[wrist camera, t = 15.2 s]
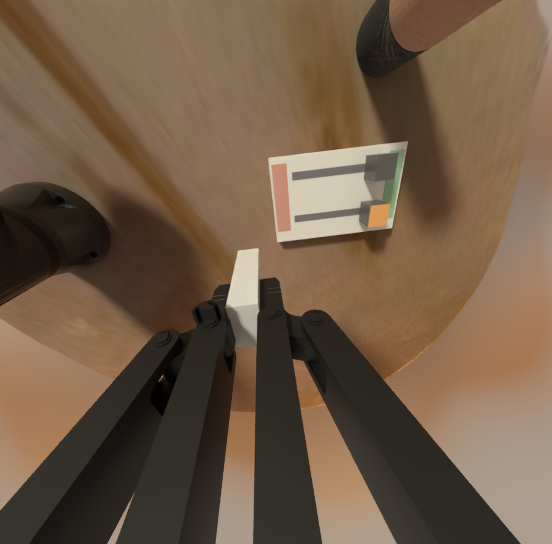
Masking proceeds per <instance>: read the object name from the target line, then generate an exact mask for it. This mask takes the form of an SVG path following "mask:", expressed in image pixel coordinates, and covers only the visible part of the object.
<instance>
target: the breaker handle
mask: <svg viewBox="0 0 552 544" xmlns="http://www.w3.org/2000/svg"><path fill="white" fill-rule="evenodd" d="M389 208H390V204H389V203H386V202H384V201H381V200H370V201H361V204H360V214H359V222H361V223H362V224H364V225H365V226H367V227H368V228H371V227H379V226H387V220H388V214H389Z"/></svg>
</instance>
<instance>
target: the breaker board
mask: <svg viewBox="0 0 552 544" xmlns="http://www.w3.org/2000/svg"><path fill="white" fill-rule="evenodd" d="M407 145H408V141H405V142H397V143H389V144H380V145H372V146H364V147H356V148H347V149H339V150H331V151H322V152H314V153H306V154H298V155H289V156H281V157H273V158H268V162H269V171H270V180H271V189H272V199H273V208H274V217H275V227H276V236H277V242H284V241H292V240H300V239H308V238H316V237H324V236H332V235H340V234H348V233H356V232H364V231H373V230H381V229H389V228H392V225H393V220H394V215H395V209H396V204H397V199H398V193H399V188H400V182H401V177H402V172H403V166H404V161H405V156H406V150H407ZM370 200H381V201H384V202H386V203H389V204H390V208H389V214H388V220H387V226H379V227H371V228H368V227H367V226H365V225H364V224H362V223H361V222H359V214H360V204H361V201H370Z"/></svg>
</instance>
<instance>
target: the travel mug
mask: <svg viewBox="0 0 552 544" xmlns="http://www.w3.org/2000/svg"><path fill="white" fill-rule="evenodd" d="M500 1H501V0H376V1H375V3H374V4H373V6H372V7H371V9H370V10H369V12H368V13H367V15H366V17H365V18H364V20H363V22H362V24H361V27H360V29H359V33H358V37H357V43H356V53H357V59H358V62H359V64H360V66H361V68H362V69H363V71H364V72H366V73H367V74H369V75H371V76H382V75H385V74H387V73H389V72H391V71H392V70H394V69H396V68H397V67H399V66H401V65H402V64H404V63H406V62H407V61H409V60H411V59H413V58H414V57H416V56H418V55H419V54H421V53H423V52H424V51H426V50H428V49H429V48H431V47H432V46H434V45H436V44H437V43H439V42H440V41H442V40H443V39H445V38H446V37H448V36H449V35H450V34H452V33H453V32H455V31H456V30H458V29H459V28H461V27H462V26H464V25H465V24H467V23H468V22H470V21H471V20H473V19H474V18H476V17H477V16H479V15H480V14H482V13H483V12H485V11H486V10H488V9H489V8H491V7H492V6H494V5H495V4H497V3H498V2H500Z"/></svg>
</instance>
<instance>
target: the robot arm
mask: <svg viewBox="0 0 552 544" xmlns="http://www.w3.org/2000/svg"><path fill="white" fill-rule="evenodd" d="M109 246H110V237H109V233H108V229H107V227H106V225H105V223H104V221H103V219H102V218H101V216H100V215H99V214H98V212H97V211H96V210H95V209H94V208H93V207H92V206H91V205H90V204H89V203H88V202H87V201H85V200H84V199H83V198H81V197H80V196H78V195H77V194H75V193H74V192H72V191H70V190H68V189H66V188H63V187H61V186H58V185H55V184H51V183H45V182H33V183H23V184H17V185H14V186H11V187H8V188H6V189H4V190H3V191H1V192H0V306H1V305H3V304H5V303H6V302H8V301H10V300H11V299H13V298H15V297H17V296H18V295H20V294H22V293H23V292H25V291H27V290H29V289H30V288H32V287H34V286H35V285H37V284H39V283H41V282H42V281H44V280H46V279H47V278H49V277H51V276H53V275H58V274H63V273H67V272H72V271H77V270H81V269H85V268H88V267H90V266H92V265H94V264H95V263H97V262H98V261H100V260H101V259H103V258H104V257H105V255H106V254H107V252H108V250H109ZM192 313H193V316H194V318H195V321H196V323H197V326H196V328H195V329H193V330H191V331H188V332H185V333H183V334H180V335H179V333H178V332H177V330H174V329H168V330H164V331H161V332H159V333H158V334H156V335H155V336H153V337H152V338H151V339H150V340H149V341H148V343H147V344H146V345H145V346H144V347H143V348H142V349H141V351H140V352H139V353H138V354H137V355H136V356H135V357H134V359H133V360H132V361H131V362H130V363H129V364H128V365H127V367H126V368H125V369H124V370H123V371H122V372H121V373H120V375H119V376H118V377H117V378H116V379H115V380H114V381H113V383H112V384H111V385H110V386H109V387H108V388H107V389H106V391H105V392H104V393H103V394H102V395H101V396H100V397H99V399H98V400H97V401H96V402H95V403H94V404H93V405H92V407H91V408H90V409H89V410H88V411H87V412H86V413H85V415H84V416H83V417H82V418H81V419H80V420H79V421H78V423H77V424H76V425H75V426H74V427H73V428H72V429H71V431H70V432H69V433H68V434H67V435H66V436H65V437H64V439H63V440H62V441H61V442H60V443H59V444H58V446H57V447H56V448H55V449H54V450H53V451H52V452H51V453H50V454H49V456H48V457H47V458H46V459H45V460H44V461H43V463H42V464H41V465H40V466H39V467H38V468H37V470H36V471H35V472H34V473H33V474H32V475H31V476H30V477H29V478H28V480H27V481H26V482H25V483H24V484H23V485H22V487H21V488H20V489H19V490H18V491H17V492H16V493H15V495H14V496H13V497H12V498H11V499H10V500H9V501H8V503H7V504H6V505H5V506H4V507H3V508H2V509H1V510H0V544H107V543H108V541H109V539H110V537H111V535H112V533H113V532H114V530H115V528H116V526H117V524H118V522H119V520H120V518H121V517H122V515H123V513H124V511H125V509H126V507H127V505H128V503H129V501H130V499H131V498H132V496H133V494H134V496H133V498H132V501H131V504H130V507H129V509H128V512H127V515H126V518H125V520H124V523H123V525H122V528H121V531H120V534H119V536H118V539H117V542H116V544H215V542H216V533H217V524H218V515H219V506H220V497H221V488H222V479H223V471H224V462H225V452H226V444H227V435H228V426H229V417H230V409H231V400H232V391H233V382H234V373H235V364H236V352H235V349H234V348H235V342H236V345H237V348H242V347H249V346H257V357H256V416H255V417H256V419H255V473H254V474H255V475H254V530H253V531H254V532H253V544H322V540H321V534H320V527H319V522H318V515H317V509H316V502H315V496H314V490H313V484H312V478H311V472H310V465H309V459H308V453H307V447H306V440H305V434H304V428H303V422H302V416H301V409H300V403H299V397H298V391H297V385H296V378H295V372H294V366H293V360H292V359H296V360H302V361H304V363H305V365H306V367H307V369H308V371H309V373H310V375H311V377H312V378H313V380H314V382H315V384H316V386H317V388H318V390H319V392H320V394H321V396H322V398H323V400H324V402H325V404H326V406H327V408H328V410H329V412H330V414H331V416H332V418H333V419H334V422H335V424H336V425H337V427H338V429H339V431H340V433H341V435H342V437H343V439H344V441H345V443H346V445H347V447H348V449H349V451H350V452H351V455H352V457H353V459H354V461H355V463H356V465H357V466H358V469H359V470H360V472H361V474H362V476H363V478H364V480H365V482H366V484H367V486H368V488H369V490H370V492H371V494H372V496H373V498H374V500H375V502H376V504H377V506H378V508H379V510H380V511H381V514H382V515H383V517H384V520H385V521H386V523H387V525H388V527H389V529H390V531H391V533H392V535H393V537H394V539H395V541H396V543H397V544H520V543H519V541H518V540H517V539H516V538H515V537H514V535H513V534H512V533H511V532H510V531H509V530H508V528H507V527H506V526H505V525H504V523H503V522H502V521H501V520H500V519H499V517H498V516H497V515H496V514H495V513H494V511H493V510H492V509H491V508H490V507H489V505H487V503H486V502H485V501H484V500H483V498H482V497H481V496H480V495H479V494H478V492H477V491H476V490H475V489H474V488H473V486H472V485H471V484H470V483H469V482H468V480H467V479H466V478H465V477H464V476H463V474H462V473H461V472H460V471H459V470H458V468H457V467H456V466H455V465H454V464H453V462H452V461H451V460H450V459H449V458H448V457H447V455H446V454H445V453H444V452H443V451H442V449H441V448H440V447H439V446H438V445H437V444H436V442H435V441H434V440H433V439H432V437H431V436H430V435H429V434H428V433H427V431H426V430H425V429H424V428H423V427H422V426H421V424H420V423H419V422H418V421H417V419H416V418H415V417H414V416H413V415H412V414H411V412H410V411H409V410H408V409H407V408H406V406H405V405H404V404H403V403H402V402H401V401H400V399H399V398H398V397H397V396H396V395H395V393H394V392H393V391H392V390H391V388H390V387H389V386H388V385H387V384H386V383H385V381H384V380H383V379H382V378H381V376H380V375H379V374H378V373H377V372H376V370H375V369H374V368H373V367H372V366H371V365H370V363H369V362H368V361H367V360H366V359H365V357H364V356H363V355H362V354H361V353H360V351H359V350H358V349H357V348H356V347H355V345H354V344H353V343H352V342H351V341H350V339H349V338H348V337H347V336H346V335H345V333H344V332H343V331H342V330H341V329H340V327H339V326H338V325H337V324H336V323H335V322H334V320H333V319H332V318H331V317H330V316H329V315H328V314H327V313H326V312H324V311H321V310H309V311H307V312H305V313H304V314H303V315H302V317H300V316H294V315H291V314H289V313H287V312H286V311H285V310H284V307H283V301H282V295H281V289H280V282H279V281H278V280H277V279H276V278H268V279H263V274H262V268H261V262H260V255H259V249H258V248H257V249H249V250H241V251H238V254H237V259H236V263H235V268H234V272H233V277H232V281H231V284H225V285H219V287H218V288H217V289H216V290H215V291H214V294H213V297H212V300H208V301H204V302H202V303H200V304H198V305H197V306H195V307H194V308H193V310H192ZM162 375H163V378H162V379H161V380H160V381H159V379H160V378H161V376H162ZM158 381H159V382H158ZM134 492H135V493H134Z"/></svg>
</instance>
